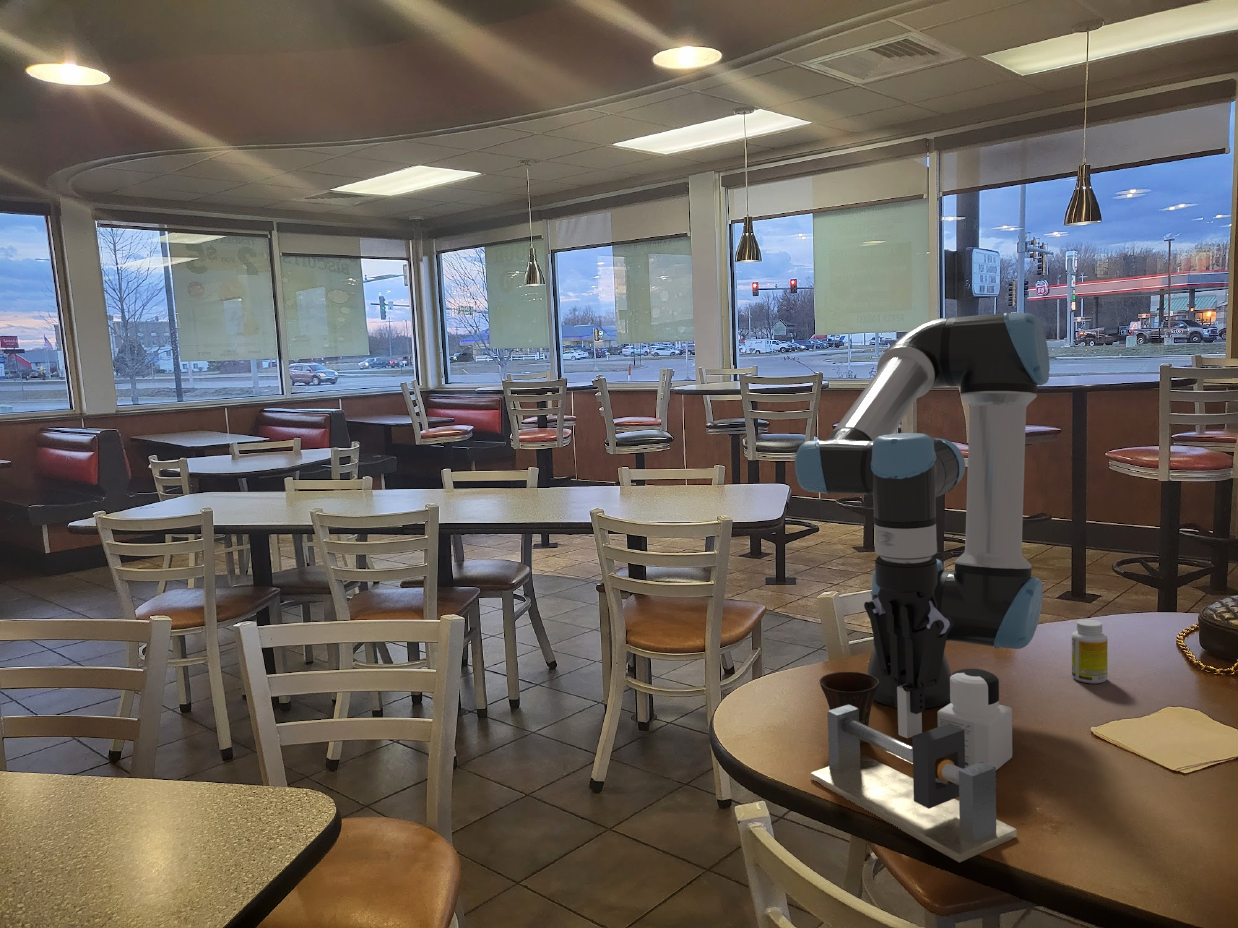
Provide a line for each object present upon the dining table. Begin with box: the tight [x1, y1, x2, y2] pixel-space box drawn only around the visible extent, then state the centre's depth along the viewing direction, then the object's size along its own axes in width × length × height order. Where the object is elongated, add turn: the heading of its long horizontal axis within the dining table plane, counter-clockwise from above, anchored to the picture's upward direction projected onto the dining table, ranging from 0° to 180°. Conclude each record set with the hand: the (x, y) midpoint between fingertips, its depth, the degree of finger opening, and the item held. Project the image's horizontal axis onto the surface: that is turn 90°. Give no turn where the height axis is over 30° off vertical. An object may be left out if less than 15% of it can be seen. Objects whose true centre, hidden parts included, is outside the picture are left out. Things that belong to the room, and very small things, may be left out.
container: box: [937, 668, 1013, 771], centre depth 132 cm, size 8×8×13 cm
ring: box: [911, 724, 965, 809], centre depth 115 cm, size 2×6×8 cm, turn 119°
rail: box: [810, 704, 1018, 863], centre depth 120 cm, size 26×10×10 cm, turn 29°
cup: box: [819, 671, 879, 744], centre depth 141 cm, size 9×9×10 cm
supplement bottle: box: [1071, 619, 1108, 685], centre depth 160 cm, size 6×6×10 cm
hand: (910, 733), depth 119 cm, fingers closed
